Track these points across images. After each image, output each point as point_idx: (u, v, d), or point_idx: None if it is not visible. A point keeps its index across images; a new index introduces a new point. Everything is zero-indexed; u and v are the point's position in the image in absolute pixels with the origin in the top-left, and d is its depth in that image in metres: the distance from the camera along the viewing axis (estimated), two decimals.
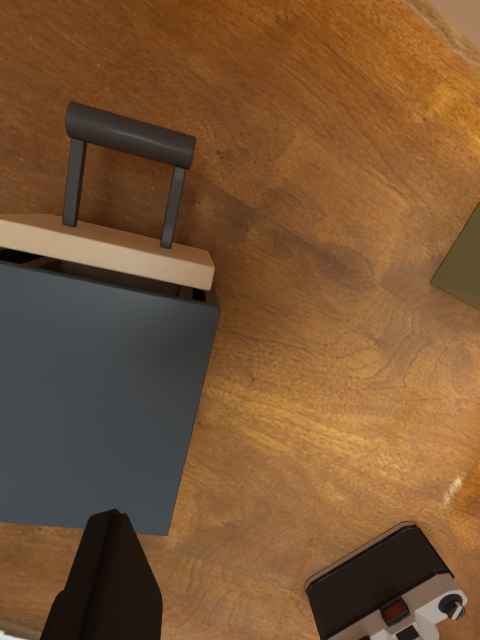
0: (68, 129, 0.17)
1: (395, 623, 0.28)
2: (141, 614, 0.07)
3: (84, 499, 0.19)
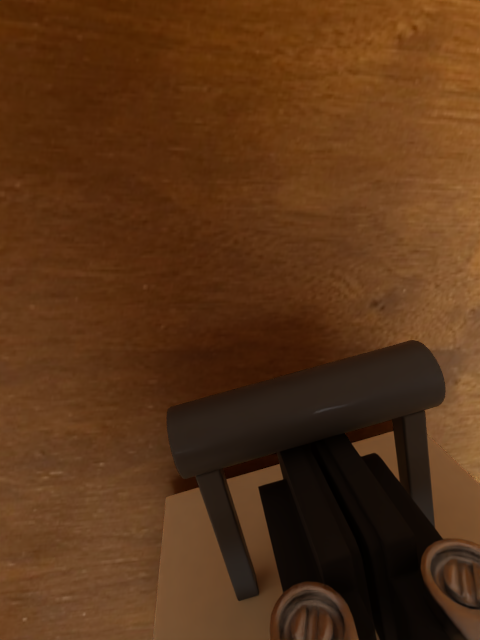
0: (188, 477, 0.08)
1: None
2: None
3: None
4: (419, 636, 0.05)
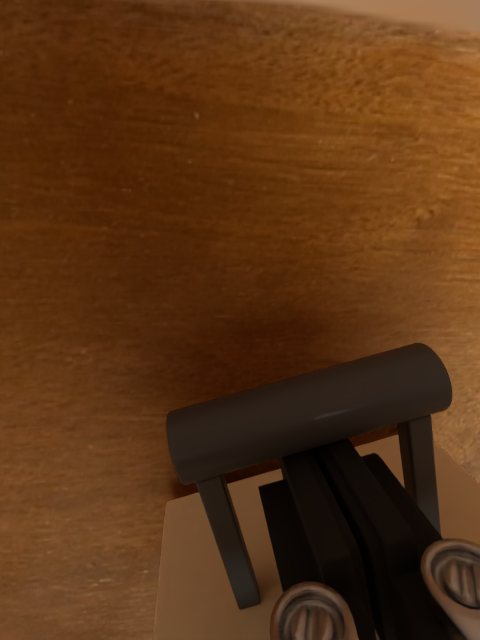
0: (188, 483, 0.08)
1: None
2: None
3: None
4: (419, 636, 0.05)
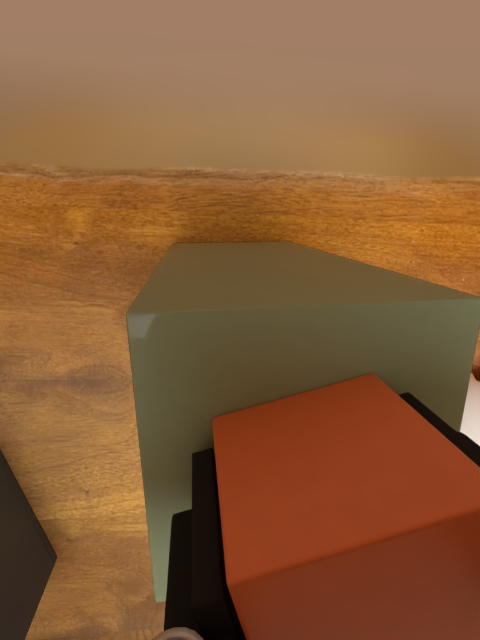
0: None
1: None
2: None
3: None
4: None
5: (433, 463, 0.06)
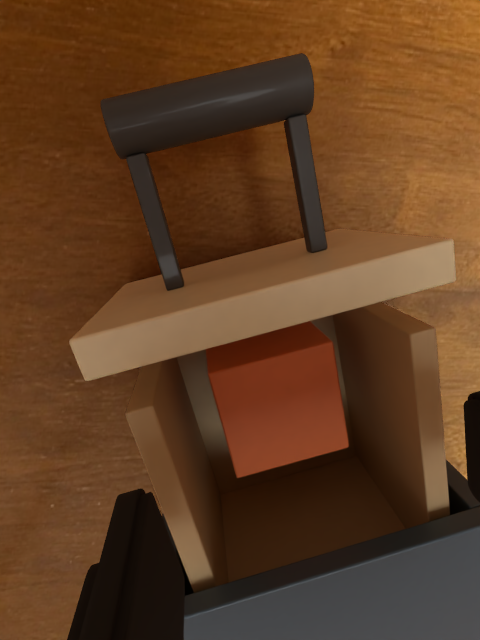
0: (117, 145, 0.10)
1: None
2: (168, 587, 0.08)
3: None
4: None
5: (307, 336, 0.13)
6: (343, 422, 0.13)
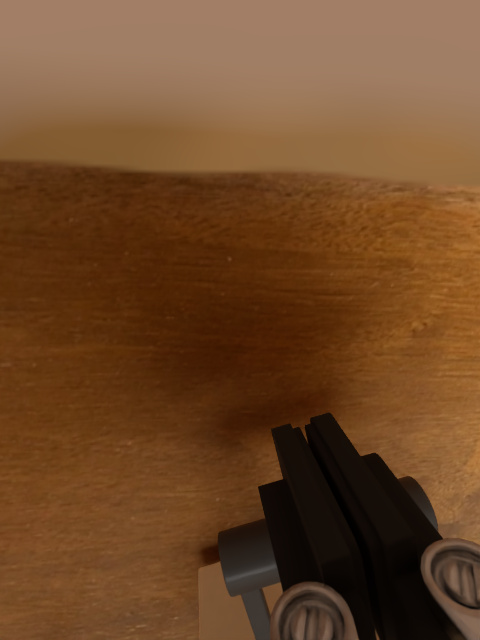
0: (235, 595, 0.10)
1: None
2: None
3: None
4: (419, 636, 0.05)
5: None
6: None
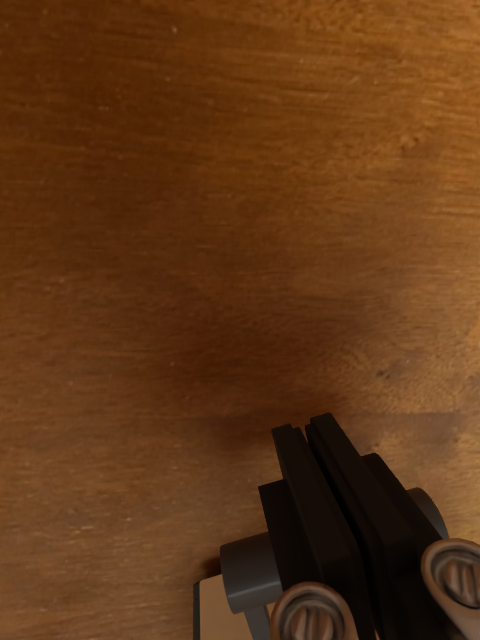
0: (238, 612, 0.10)
1: None
2: None
3: None
4: (419, 636, 0.05)
5: None
6: None
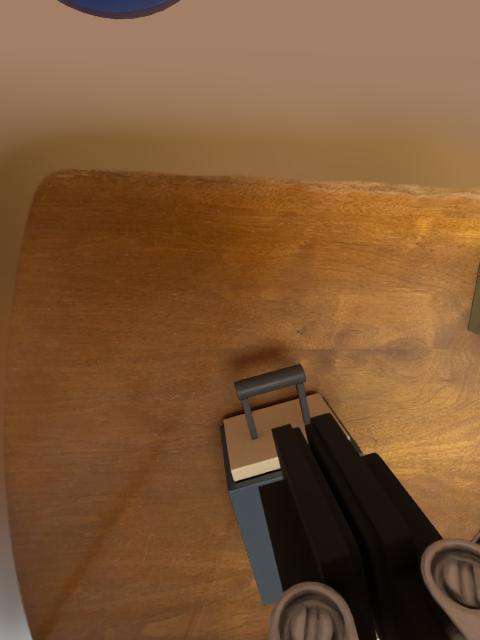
0: (240, 399, 0.31)
1: None
2: None
3: None
4: (419, 636, 0.05)
5: None
6: None
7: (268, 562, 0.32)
